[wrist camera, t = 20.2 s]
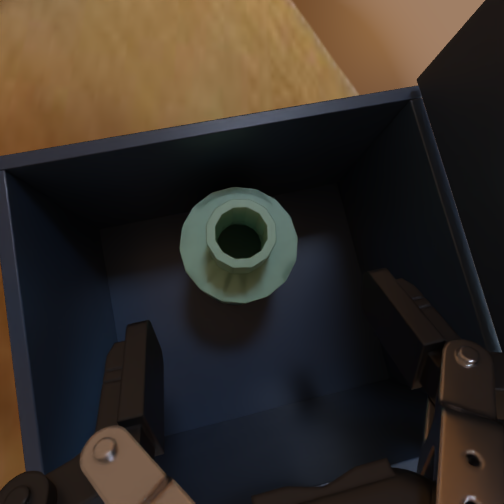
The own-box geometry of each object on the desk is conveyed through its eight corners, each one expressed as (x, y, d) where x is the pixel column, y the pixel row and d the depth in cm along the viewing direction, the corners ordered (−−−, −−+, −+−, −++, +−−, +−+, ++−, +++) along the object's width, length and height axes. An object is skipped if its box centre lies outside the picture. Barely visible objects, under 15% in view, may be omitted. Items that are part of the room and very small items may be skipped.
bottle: (177, 279, 24) (146, 260, 15) (218, 206, 25) (213, 145, 16) (253, 319, 24) (270, 326, 15) (291, 245, 25) (330, 206, 16)
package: (129, 452, 23) (38, 585, 12) (92, 224, 25) (-14, 157, 14) (395, 383, 25) (531, 443, 14) (340, 176, 27) (418, 84, 16)
